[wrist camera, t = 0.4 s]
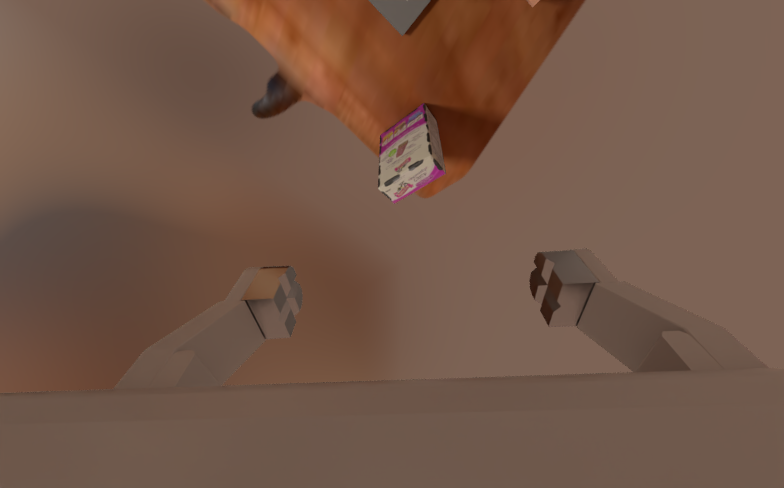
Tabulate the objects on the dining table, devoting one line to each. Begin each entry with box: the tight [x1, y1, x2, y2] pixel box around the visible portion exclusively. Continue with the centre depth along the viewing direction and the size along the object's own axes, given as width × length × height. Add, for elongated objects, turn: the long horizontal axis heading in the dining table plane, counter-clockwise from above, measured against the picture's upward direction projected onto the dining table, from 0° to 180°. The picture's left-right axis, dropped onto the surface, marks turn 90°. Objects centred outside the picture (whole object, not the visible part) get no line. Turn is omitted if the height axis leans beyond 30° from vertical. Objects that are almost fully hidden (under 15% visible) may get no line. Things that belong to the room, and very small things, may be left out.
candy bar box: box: [378, 103, 446, 204], centre depth 55 cm, size 11×5×16 cm, turn 129°
